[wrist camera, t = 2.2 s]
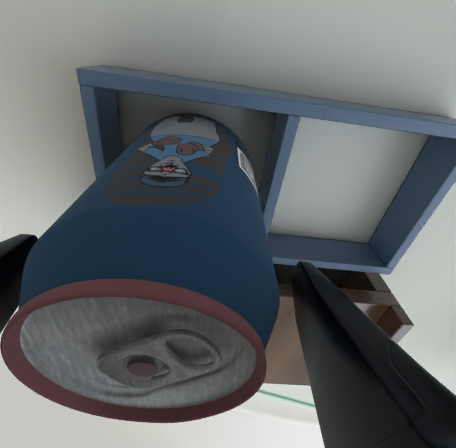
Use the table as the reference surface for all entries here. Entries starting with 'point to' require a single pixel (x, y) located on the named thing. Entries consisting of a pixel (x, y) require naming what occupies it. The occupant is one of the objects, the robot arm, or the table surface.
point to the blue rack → (280, 151)
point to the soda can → (152, 284)
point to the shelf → (289, 337)
